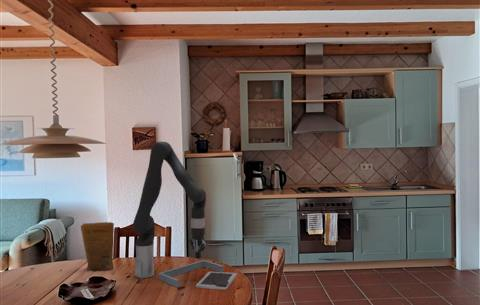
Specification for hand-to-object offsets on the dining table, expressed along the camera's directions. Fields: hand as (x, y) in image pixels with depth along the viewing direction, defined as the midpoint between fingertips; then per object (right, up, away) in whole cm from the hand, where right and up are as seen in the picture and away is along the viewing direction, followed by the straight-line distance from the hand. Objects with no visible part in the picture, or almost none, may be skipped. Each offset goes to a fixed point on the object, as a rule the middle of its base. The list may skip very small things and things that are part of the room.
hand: (198, 258), depth 205 cm
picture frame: (+10, -12, -5) cm, 16 cm away
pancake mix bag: (-59, -12, +19) cm, 63 cm away
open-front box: (-4, -11, +4) cm, 12 cm away
